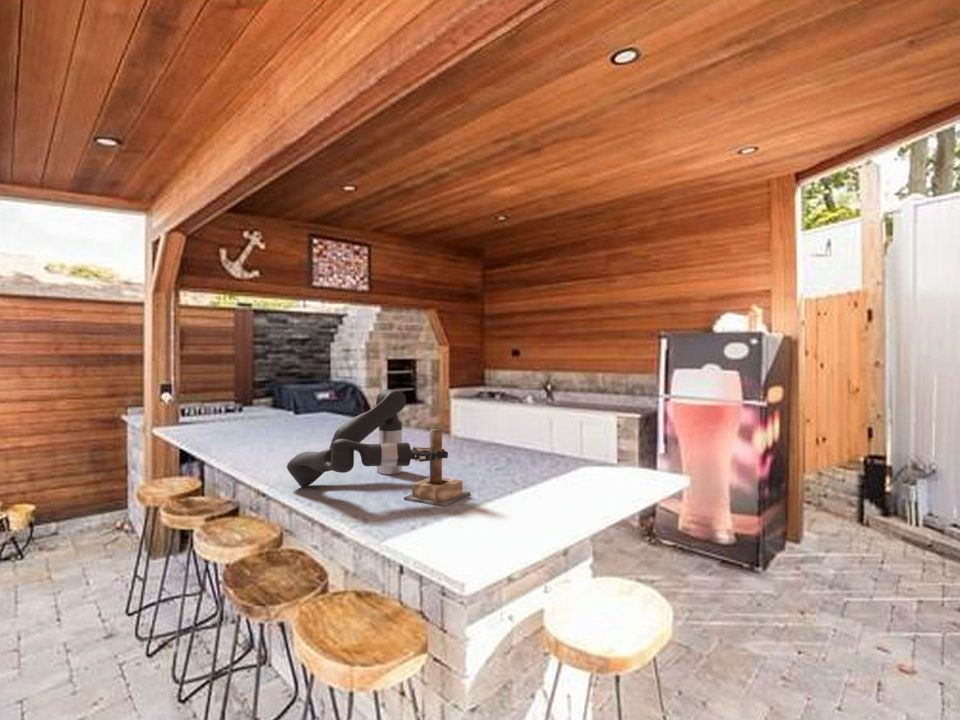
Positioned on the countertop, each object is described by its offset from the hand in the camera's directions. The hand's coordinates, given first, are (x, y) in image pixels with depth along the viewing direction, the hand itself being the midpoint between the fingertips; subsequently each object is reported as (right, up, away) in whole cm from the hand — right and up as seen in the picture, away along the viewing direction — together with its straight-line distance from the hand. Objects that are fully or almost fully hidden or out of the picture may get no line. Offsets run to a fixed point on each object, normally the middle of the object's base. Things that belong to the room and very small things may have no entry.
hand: (445, 453), depth 181 cm
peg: (-3, -12, -1) cm, 12 cm away
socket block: (-3, -14, 0) cm, 15 cm away
